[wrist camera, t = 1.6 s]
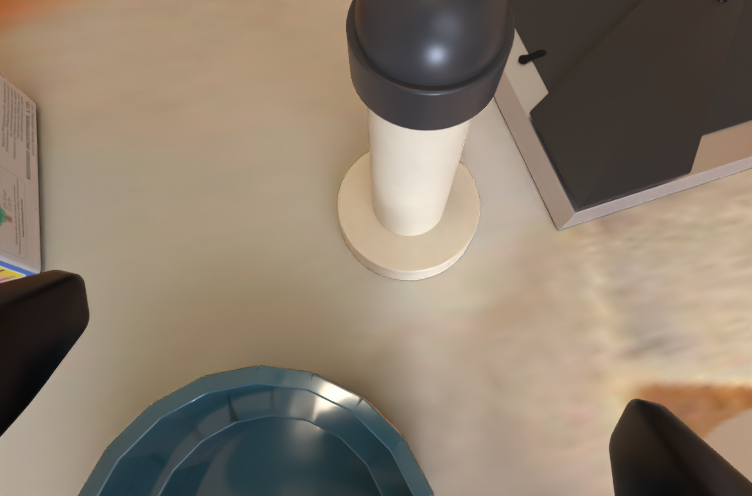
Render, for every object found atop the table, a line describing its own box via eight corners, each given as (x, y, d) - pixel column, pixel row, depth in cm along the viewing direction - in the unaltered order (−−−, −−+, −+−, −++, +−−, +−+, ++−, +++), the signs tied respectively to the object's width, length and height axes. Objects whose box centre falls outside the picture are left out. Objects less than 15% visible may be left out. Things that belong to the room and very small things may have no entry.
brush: (490, 266, 22) (648, 56, 9) (352, 292, 22) (303, 116, 9) (456, 145, 24) (545, -176, 11) (330, 167, 24) (261, -133, 11)
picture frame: (557, 231, 23) (937, 108, 24) (581, 207, 20) (1006, 71, 22) (439, -18, 27) (764, -106, 29) (445, -64, 25) (803, -158, 26)
